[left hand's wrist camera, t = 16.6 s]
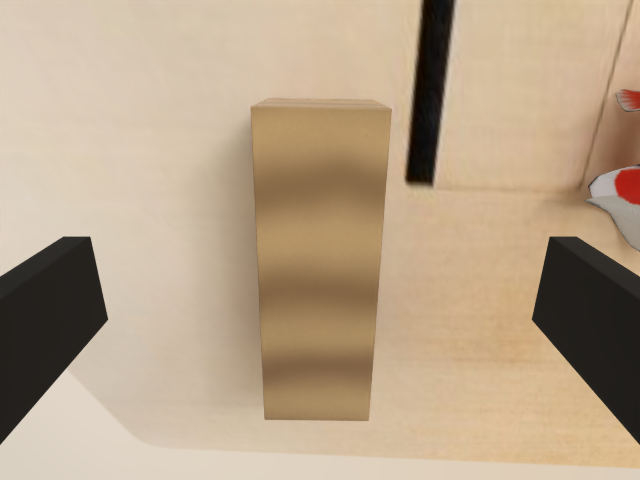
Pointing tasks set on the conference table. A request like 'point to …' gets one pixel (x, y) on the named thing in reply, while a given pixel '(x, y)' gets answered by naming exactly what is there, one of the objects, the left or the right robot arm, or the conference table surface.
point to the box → (319, 252)
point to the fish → (621, 186)
